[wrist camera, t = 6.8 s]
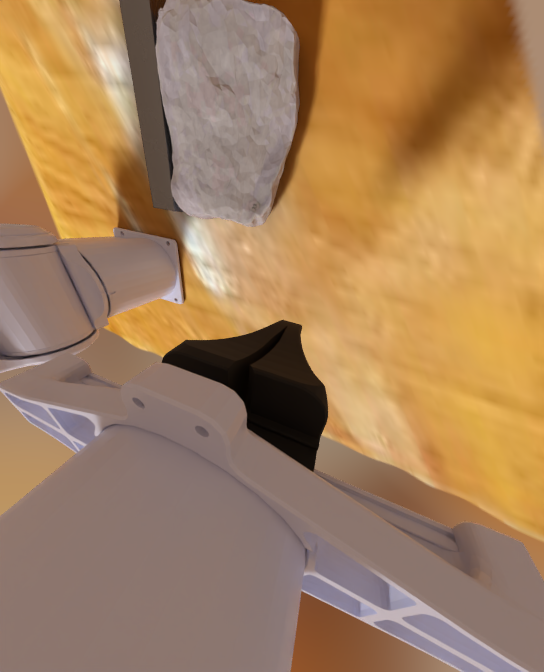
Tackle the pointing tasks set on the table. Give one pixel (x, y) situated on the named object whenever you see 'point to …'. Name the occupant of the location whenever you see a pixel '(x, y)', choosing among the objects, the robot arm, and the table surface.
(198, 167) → the stone block
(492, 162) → the table surface
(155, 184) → the bar
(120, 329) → the table surface
